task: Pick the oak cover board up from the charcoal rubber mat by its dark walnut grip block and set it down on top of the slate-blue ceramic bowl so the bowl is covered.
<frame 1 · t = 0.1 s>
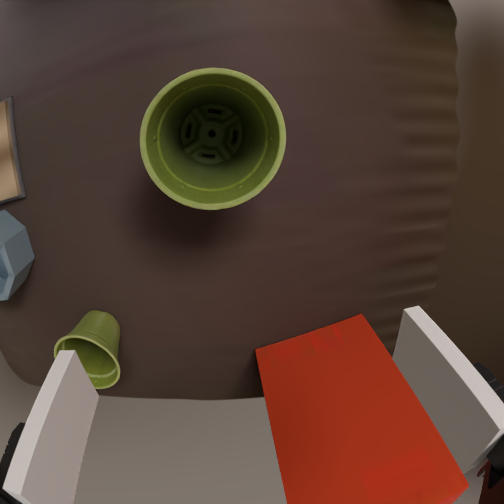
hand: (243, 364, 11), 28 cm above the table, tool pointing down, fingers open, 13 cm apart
file binder: (313, 348, 48), on the table
slate-blue bowl: (4, 247, 35), on the table
plant pot: (102, 325, 42), on the table
plant pot 2: (213, 134, 34), on the table
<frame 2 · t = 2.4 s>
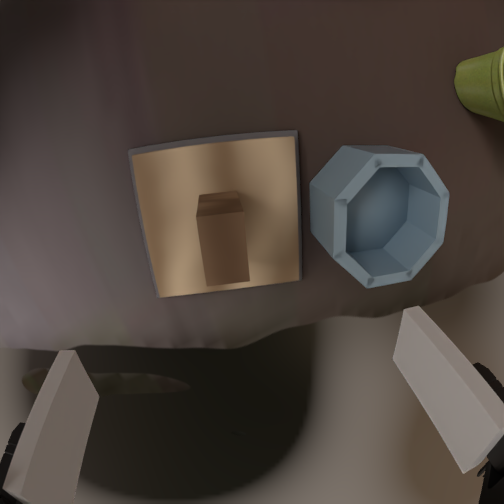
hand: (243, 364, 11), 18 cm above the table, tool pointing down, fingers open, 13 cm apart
oak cover board: (220, 218, 27), resting on charcoal mat
slate-blue bowl: (364, 202, 28), on the table
charcoal mat: (220, 217, 27), on the table
plant pot: (469, 85, 24), on the table
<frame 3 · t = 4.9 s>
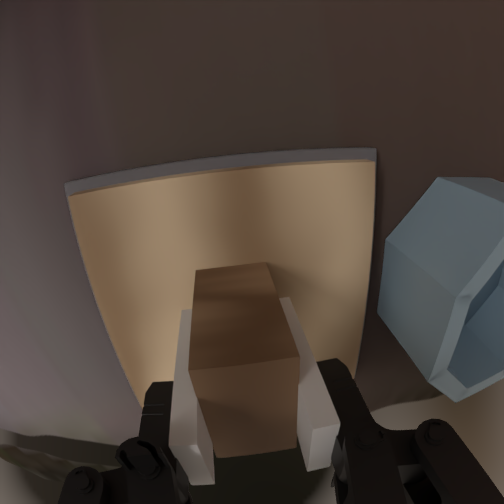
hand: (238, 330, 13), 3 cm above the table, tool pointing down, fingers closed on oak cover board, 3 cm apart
oak cover board: (235, 304, 15), resting on charcoal mat, touching gripper
slate-blue bowl: (453, 264, 17), on the table
charcoal mat: (234, 299, 16), on the table
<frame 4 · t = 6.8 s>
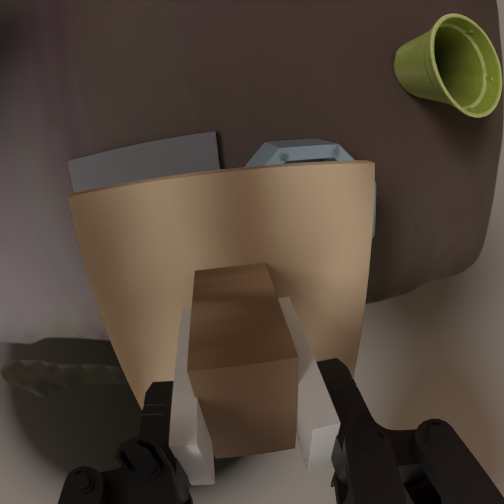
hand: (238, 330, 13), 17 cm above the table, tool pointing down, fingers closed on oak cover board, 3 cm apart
oak cover board: (234, 305, 15), point 15 cm above the table, touching gripper
slate-blue bowl: (293, 197, 29), on the table
charcoal mat: (150, 217, 28), on the table
plant pot: (414, 69, 25), on the table
when the fingers open (10 cm above the table, at t = 9.1 s): oak cover board drops 1 cm, resting on slate-blue bowl.
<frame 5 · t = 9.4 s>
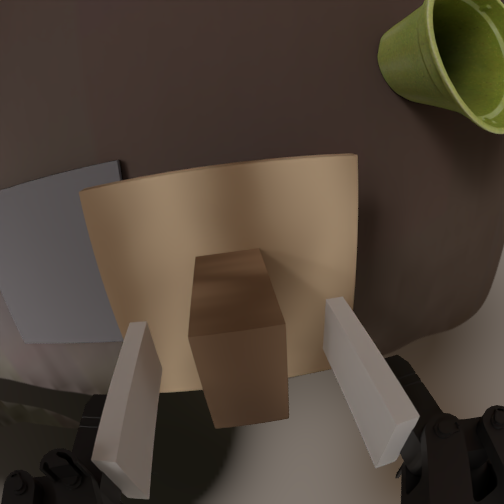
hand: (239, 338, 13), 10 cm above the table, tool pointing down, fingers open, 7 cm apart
oak cover board: (232, 289, 17), point 6 cm above the table, touching slate-blue bowl
charcoal mat: (57, 267, 21), on the table
plant pot: (408, 63, 18), on the table
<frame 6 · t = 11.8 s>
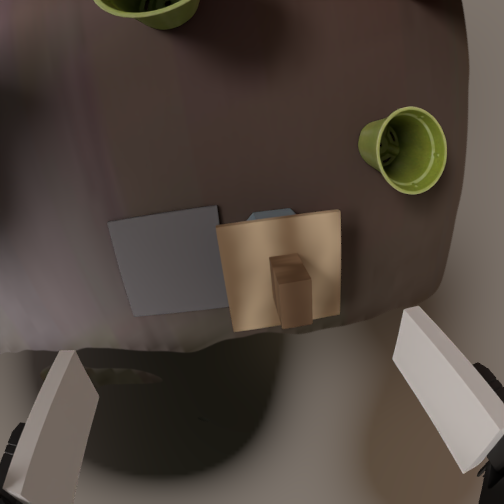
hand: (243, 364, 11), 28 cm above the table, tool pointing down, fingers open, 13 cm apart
oak cover board: (283, 272, 35), point 6 cm above the table, touching slate-blue bowl
slate-blue bowl: (274, 251, 41), on the table
charcoal mat: (170, 264, 40), on the table
plant pot: (377, 143, 36), on the table
plant pot 2: (169, 4, 27), on the table
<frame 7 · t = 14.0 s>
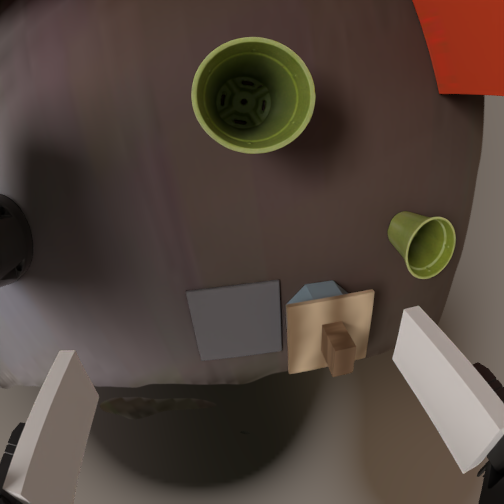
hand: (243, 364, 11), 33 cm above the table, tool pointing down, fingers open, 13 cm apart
oak cover board: (329, 332, 46), point 6 cm above the table, touching slate-blue bowl
file binder: (442, 44, 35), on the table
slate-blue bowl: (318, 311, 51), on the table
charcoal mat: (237, 322, 50), on the table
plant pot: (401, 228, 47), on the table
plant pot 2: (243, 101, 37), on the table
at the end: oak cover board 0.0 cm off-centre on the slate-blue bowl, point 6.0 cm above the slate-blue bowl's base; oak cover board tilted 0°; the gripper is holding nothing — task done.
